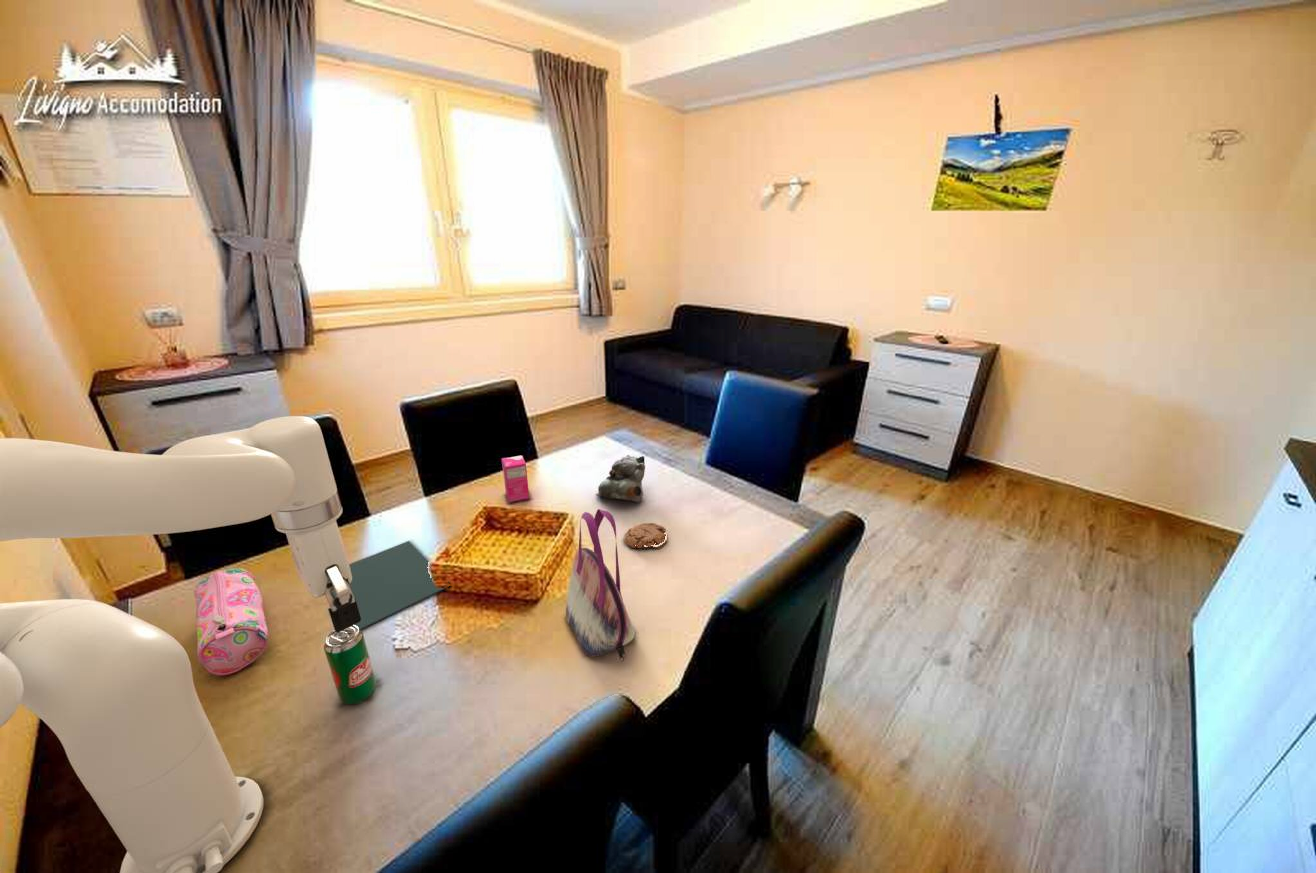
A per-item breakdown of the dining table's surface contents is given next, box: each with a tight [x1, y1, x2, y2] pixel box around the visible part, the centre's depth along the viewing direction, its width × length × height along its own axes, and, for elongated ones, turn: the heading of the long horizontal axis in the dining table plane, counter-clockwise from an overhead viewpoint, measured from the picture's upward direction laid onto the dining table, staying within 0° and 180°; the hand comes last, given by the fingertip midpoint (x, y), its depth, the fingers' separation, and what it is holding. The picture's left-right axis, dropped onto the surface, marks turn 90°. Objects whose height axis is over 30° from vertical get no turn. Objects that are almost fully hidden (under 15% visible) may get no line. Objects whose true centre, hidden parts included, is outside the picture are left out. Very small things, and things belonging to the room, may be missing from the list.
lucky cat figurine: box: [594, 454, 646, 503], centre depth 136 cm, size 15×12×14 cm
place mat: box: [330, 540, 448, 631], centre depth 101 cm, size 22×18×1 cm
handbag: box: [565, 508, 636, 663], centre depth 86 cm, size 21×10×25 cm, turn 30°
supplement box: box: [501, 455, 531, 504], centre depth 133 cm, size 6×6×12 cm
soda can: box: [323, 625, 377, 705], centre depth 74 cm, size 5×5×12 cm
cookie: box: [624, 522, 669, 549], centre depth 117 cm, size 10×11×3 cm
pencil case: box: [193, 567, 269, 676], centre depth 85 cm, size 21×9×9 cm, turn 41°
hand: (337, 608), depth 71 cm, fingers open, 9 cm apart
